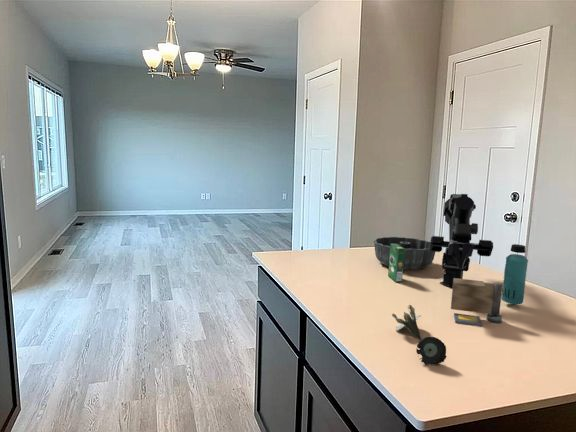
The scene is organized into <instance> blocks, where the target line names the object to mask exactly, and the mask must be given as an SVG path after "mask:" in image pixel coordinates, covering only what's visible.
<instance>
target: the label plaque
mask: <svg viewBox="0 0 576 432" xmlns="http://www.w3.org/2000/svg"><path fill="white" fill-rule="evenodd" d="M453 317H454V323H455V324H462V325H469V326H476V327H482V326H483V322H482V319H481V318H480V316H479V315H473V314H464V313H457V312H456V313H455V312H453Z"/></svg>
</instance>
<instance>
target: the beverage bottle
mask: <svg viewBox="0 0 576 432" xmlns="http://www.w3.org/2000/svg"><path fill="white" fill-rule="evenodd" d="M510 251H511V252H513V253H511V254H509V255H508V256H506V258H505V266H504V272H503V274H504V275H503V281H502V294H501V300H502V301H503V302H504V303H507V304H511V305H523V303H524V300H525V289H526V288H525V287H526V277H527V270H528V263H529V259H528V258H527V257H526V256H525V255H522V254H525V253H526V245H522V244H518V243H517V244H516V243H515V244H511V246H510Z"/></svg>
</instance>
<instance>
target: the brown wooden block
mask: <svg viewBox="0 0 576 432" xmlns="http://www.w3.org/2000/svg"><path fill="white" fill-rule="evenodd" d="M502 287H503V283H499V282H487V281H486V282H485V281H483V280H476V279H475V280H474V279H467V278H466V279H465V278H463V279H458V278H454V279H453V288H451V290H452V291H451V301H450V310H455V311H462V312H471V313H478V314H484V315H485V314H486V315H487V314H492V315H496V316H498V315H499V314H500V311H501V310H500V309H501V300H502V297H501V296H502Z"/></svg>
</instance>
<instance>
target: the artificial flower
mask: <svg viewBox="0 0 576 432" xmlns="http://www.w3.org/2000/svg"><path fill="white" fill-rule="evenodd" d="M407 309H408V312H409V313H407V312H405V311H403V318H399V317H398V316H397V315H396V314H395V313H391V316H392V318H394V319H395V321H396V323H398V324H400V325H397V326H395V331H396V332H399V331H400V330H401V329H403V328H406V329H407V330H408V331H409V332H410V333H411V334H412V335H413V336H415V337H416V338H417V339H419V341H418V342H417V345H416V348H415V350H416V354H417V355H418V356H417V357H418V358H419V355H421V358H419V360H421V363H423V364H424V365H425V366H427V365H432V366H435V365H440V364H441V363H444V362H445V360H446V359H447V346H446V344H445V343H444V342H443V341H442V340H441V339H440V338H438V337H434V336H425V337H421V333H420V330H419V327H418V324H417V320H418V319H420V317H421V316H422V314H418V315H417V316H416V313H415V312H416V311H415V307H413V306H412V305H411V304H409V305H408V306H407Z"/></svg>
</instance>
